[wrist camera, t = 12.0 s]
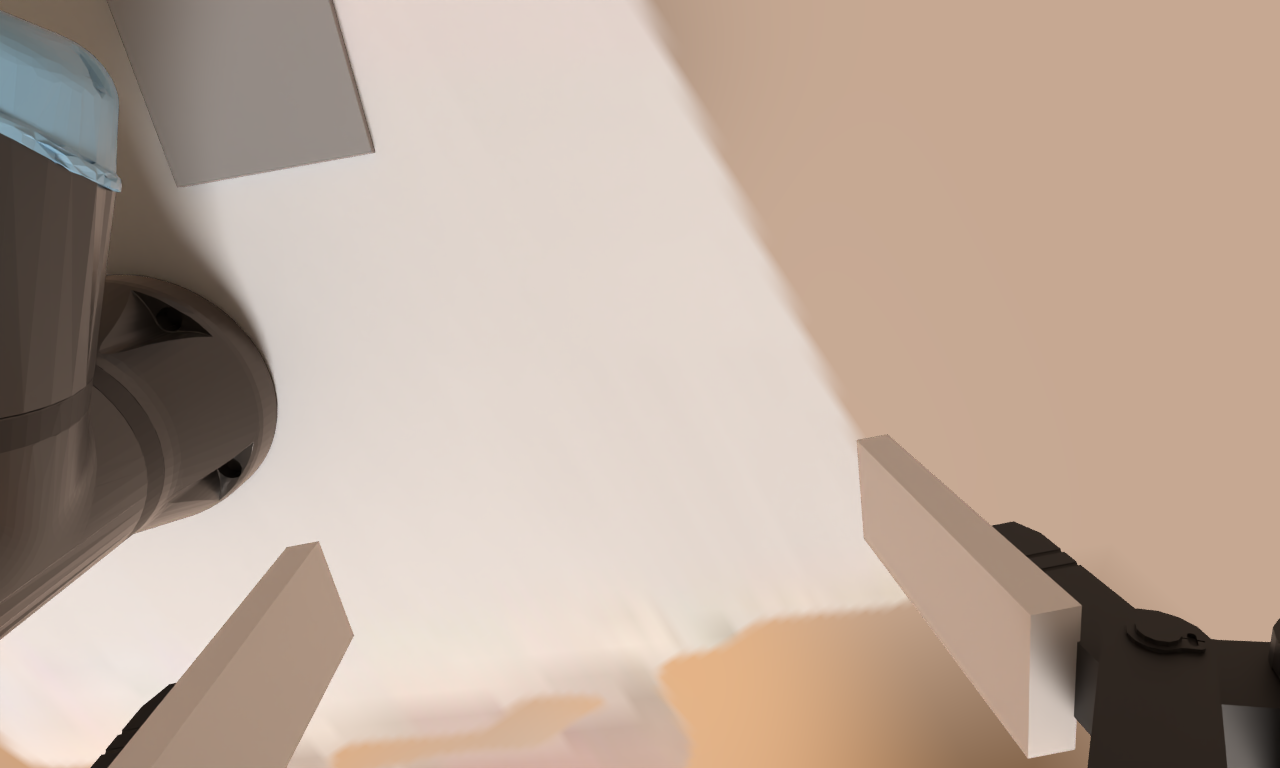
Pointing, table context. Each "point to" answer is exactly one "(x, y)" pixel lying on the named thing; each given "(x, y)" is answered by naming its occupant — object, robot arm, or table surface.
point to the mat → (243, 84)
